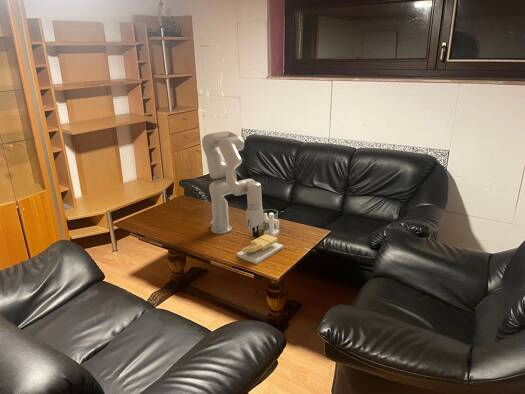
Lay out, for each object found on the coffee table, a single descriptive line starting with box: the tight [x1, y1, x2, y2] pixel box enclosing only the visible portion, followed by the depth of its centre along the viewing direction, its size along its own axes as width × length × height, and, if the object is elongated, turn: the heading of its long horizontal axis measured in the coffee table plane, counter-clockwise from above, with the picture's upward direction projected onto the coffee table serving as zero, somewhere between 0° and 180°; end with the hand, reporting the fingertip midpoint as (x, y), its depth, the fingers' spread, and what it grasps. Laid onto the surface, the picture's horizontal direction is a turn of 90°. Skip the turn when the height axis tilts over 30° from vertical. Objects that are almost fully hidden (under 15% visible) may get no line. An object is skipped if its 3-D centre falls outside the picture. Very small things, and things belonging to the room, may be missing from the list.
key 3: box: [241, 244, 262, 253], centre depth 207 cm, size 9×6×2 cm, turn 50°
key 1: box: [258, 233, 279, 245], centre depth 217 cm, size 9×6×2 cm, turn 50°
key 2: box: [250, 237, 270, 249], centre depth 212 cm, size 9×6×2 cm, turn 50°
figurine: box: [263, 213, 280, 237], centre depth 228 cm, size 7×9×15 cm
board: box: [236, 242, 285, 265], centre depth 213 cm, size 14×23×4 cm, turn 140°
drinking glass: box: [262, 208, 279, 232], centre depth 238 cm, size 10×10×12 cm
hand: (256, 237), depth 212 cm, fingers closed
